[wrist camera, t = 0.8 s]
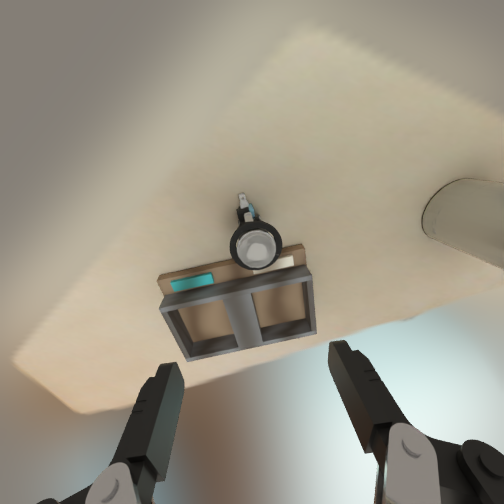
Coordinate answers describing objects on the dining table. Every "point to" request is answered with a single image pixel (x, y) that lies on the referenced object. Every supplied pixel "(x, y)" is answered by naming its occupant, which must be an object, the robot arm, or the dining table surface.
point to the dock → (263, 299)
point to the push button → (254, 240)
